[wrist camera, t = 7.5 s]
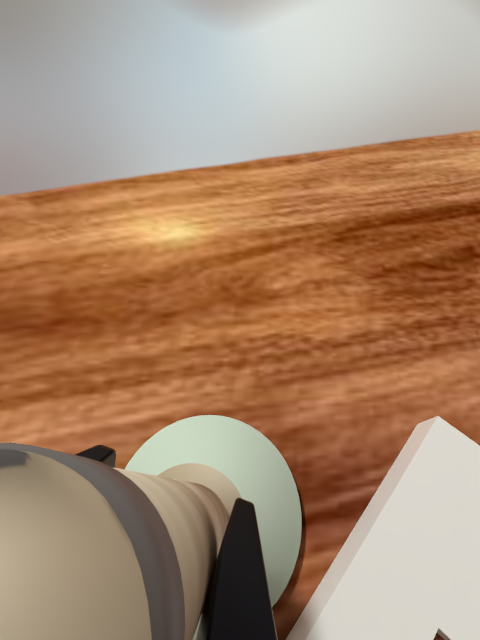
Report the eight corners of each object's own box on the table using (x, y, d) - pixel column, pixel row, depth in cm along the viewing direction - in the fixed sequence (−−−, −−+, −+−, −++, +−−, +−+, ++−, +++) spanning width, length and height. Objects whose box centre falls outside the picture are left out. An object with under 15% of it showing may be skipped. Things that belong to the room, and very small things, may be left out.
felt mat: (138, 688, 15) (135, 693, 15) (93, 459, 20) (90, 458, 20) (336, 575, 17) (339, 577, 17) (252, 390, 22) (252, 388, 22)
